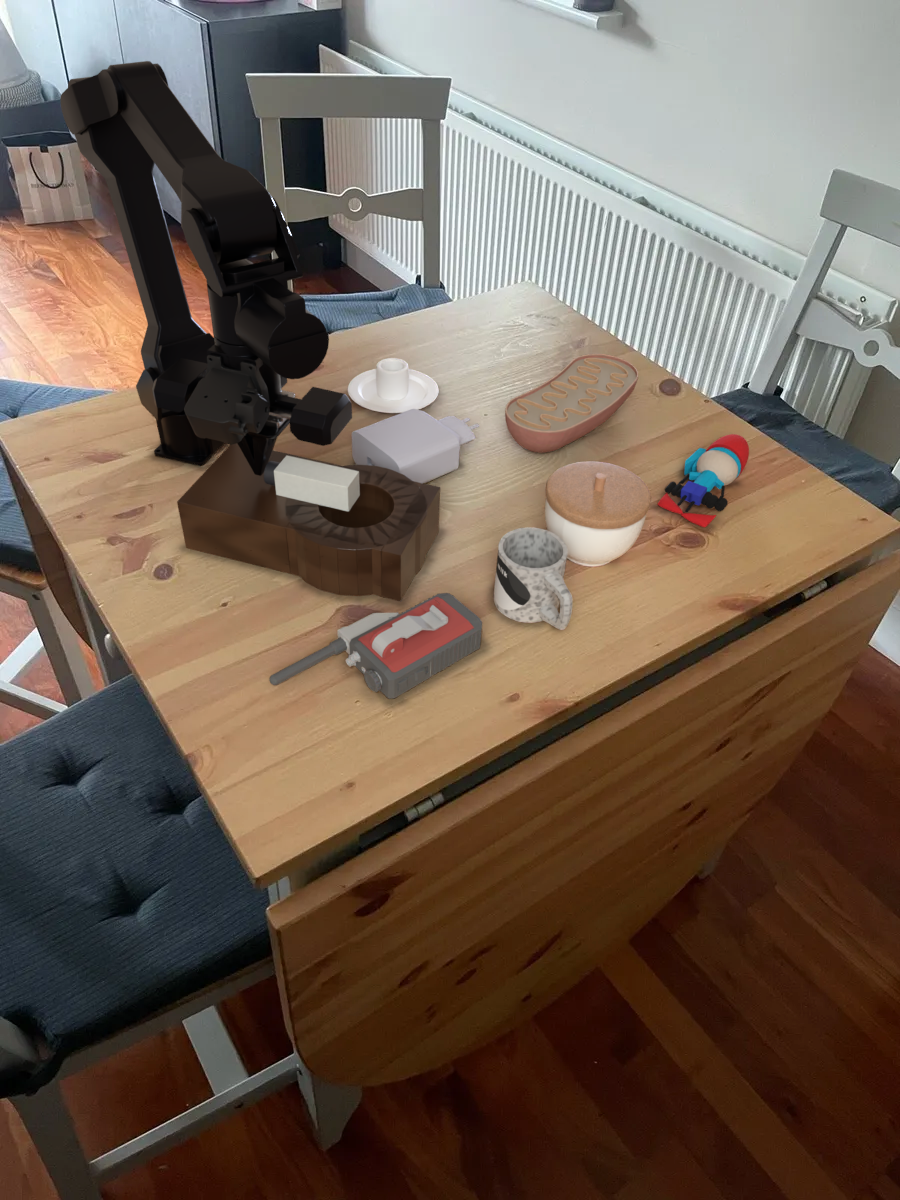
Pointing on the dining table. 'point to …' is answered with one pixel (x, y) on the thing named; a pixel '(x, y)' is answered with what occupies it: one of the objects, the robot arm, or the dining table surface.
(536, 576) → the mug
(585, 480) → the trinket box
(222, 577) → the dining table surface
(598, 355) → the anatomical model
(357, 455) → the charger
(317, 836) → the dining table surface
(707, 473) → the toy figure
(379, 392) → the candle holder
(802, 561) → the dining table surface
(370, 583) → the wooden desk organizer
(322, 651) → the walkie-talkie
